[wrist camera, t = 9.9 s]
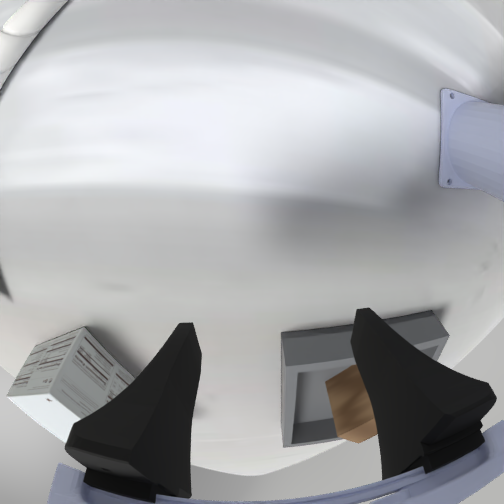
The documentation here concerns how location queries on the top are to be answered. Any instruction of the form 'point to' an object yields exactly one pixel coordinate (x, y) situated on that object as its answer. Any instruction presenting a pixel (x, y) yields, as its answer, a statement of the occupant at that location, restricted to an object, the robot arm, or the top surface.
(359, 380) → the walnut block
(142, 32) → the top surface
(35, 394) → the supplement box
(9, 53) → the unicorn horn
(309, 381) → the charcoal bin
